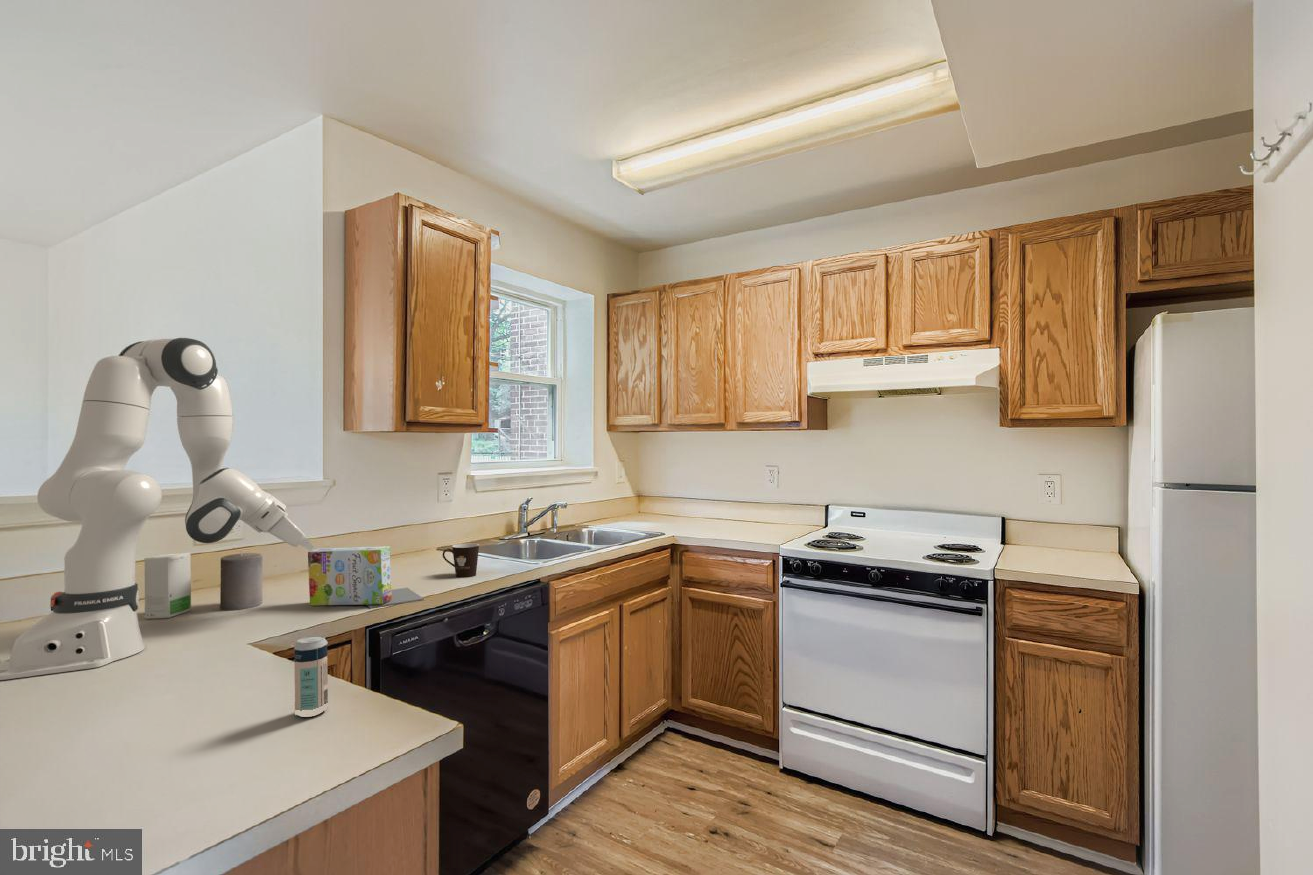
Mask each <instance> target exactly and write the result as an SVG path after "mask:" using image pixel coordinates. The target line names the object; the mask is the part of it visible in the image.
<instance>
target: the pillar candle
mask: <svg viewBox="0 0 1313 875" xmlns="http://www.w3.org/2000/svg"><path fill="white" fill-rule="evenodd" d="M219 591H220V593H219V594H220V600H219V601H220V605H219V608H220V609H221V610H223V611H237V610H238V611H240V610H247V609H252V608H256V607H258V606H260V605H261V604H262V603H263V553H258V552H245V553H244V552H243V550H242V551H240V553H236V554H233V553H232V554H227V555H224V556H222V557H220V590H219ZM255 606H256V607H255Z"/></svg>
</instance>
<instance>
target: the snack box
mask: <svg viewBox="0 0 1313 875" xmlns="http://www.w3.org/2000/svg"><path fill="white" fill-rule="evenodd" d="M390 550H391V546H390V545H388V546H360V547H359V546H357V547H356V546H355V547H329V548H325V547H323V548H321V547H320V548H316V549H312V550H310V551H309V550H308V552H307V562H308V564H307V567H308V585H309V586H308V587H309V588H308V593H309V606H311V607H312V606H357V605H359V606H361V605H362V606H364V605H365V606H367V604H383V603H386V602H388V601H390V600H392V594H391V590H392V575H391V574H392V573H391V572H392V571H391V551H390Z"/></svg>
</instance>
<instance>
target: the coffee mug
mask: <svg viewBox="0 0 1313 875" xmlns="http://www.w3.org/2000/svg"><path fill="white" fill-rule="evenodd" d="M479 549H480V544H479V543H473V542H470V543H468V542H467V543H466V542H465V543H457V544H454V545H452V546H451V548H447V549H444V550H443V551H442V558H443V559H444V561H445V562H447V564H449V565H451V566H453V567H454V573H455V577H456V578H459V579H460V578H461V579H464V578H465V579H466V578H472V577H475V576H477V569H478V568H477V567H478V560H479V551H480V550H479ZM447 551H448V552H450V553H452V556H453V563H452V562H451V561H450V560H448V559H447V558H446V556H445V553H446V552H447Z"/></svg>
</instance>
